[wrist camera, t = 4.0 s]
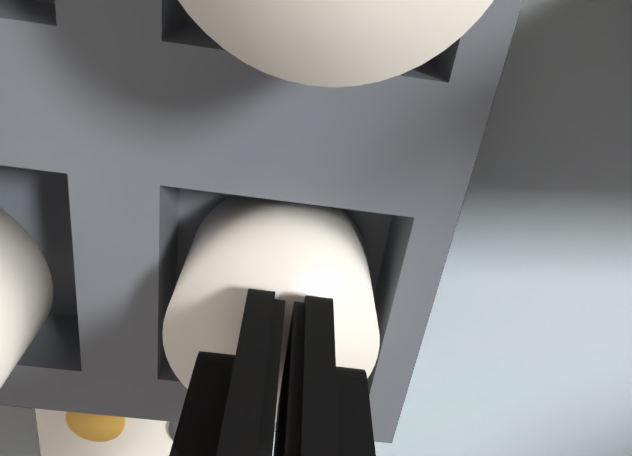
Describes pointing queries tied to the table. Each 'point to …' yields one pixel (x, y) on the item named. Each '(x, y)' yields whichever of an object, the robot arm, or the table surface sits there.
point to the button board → (214, 182)
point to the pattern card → (102, 435)
